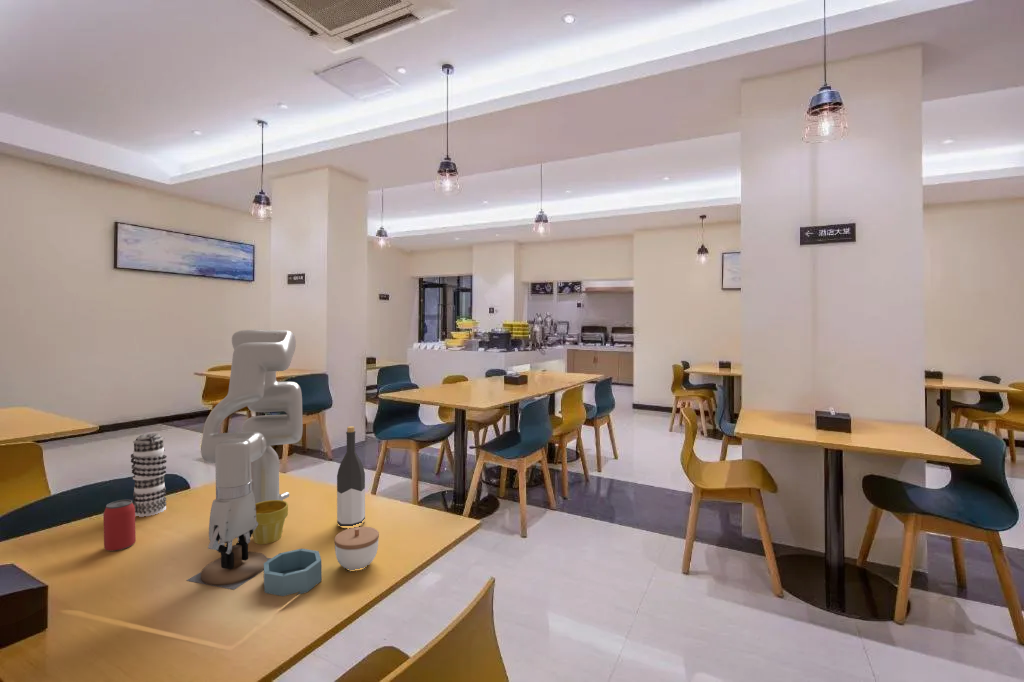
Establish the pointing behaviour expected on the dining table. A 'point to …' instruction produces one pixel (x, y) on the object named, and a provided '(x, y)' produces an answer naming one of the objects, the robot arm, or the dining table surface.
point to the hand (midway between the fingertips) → (234, 562)
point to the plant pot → (269, 521)
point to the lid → (240, 572)
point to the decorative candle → (149, 475)
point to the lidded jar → (356, 547)
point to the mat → (230, 586)
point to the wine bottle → (350, 486)
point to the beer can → (119, 525)
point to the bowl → (292, 572)
